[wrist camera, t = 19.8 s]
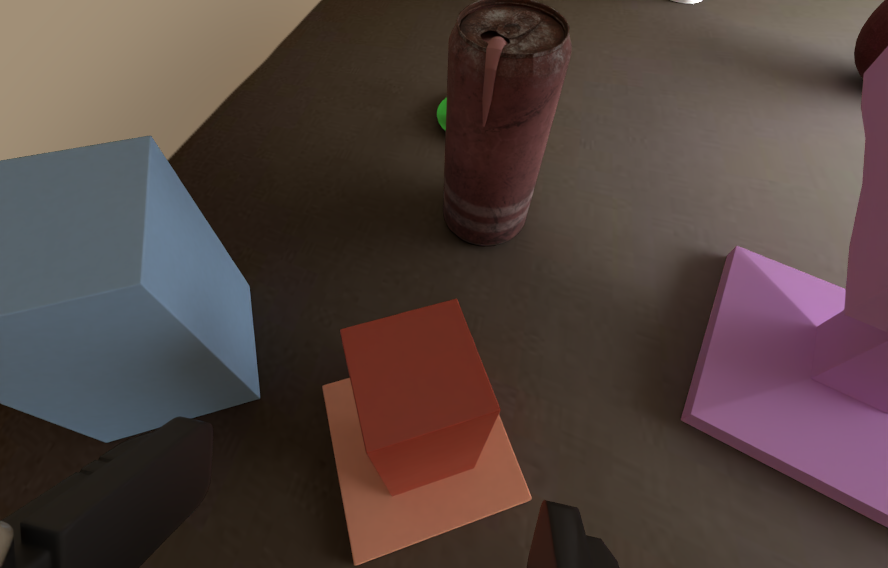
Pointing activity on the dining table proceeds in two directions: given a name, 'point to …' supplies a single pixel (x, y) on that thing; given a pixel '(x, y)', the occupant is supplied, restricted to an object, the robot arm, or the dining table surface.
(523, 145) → the brown drink cup
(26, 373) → the blue stand
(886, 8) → the decorative ball
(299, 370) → the dining table surface
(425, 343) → the red post
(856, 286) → the vase
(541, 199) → the dining table surface
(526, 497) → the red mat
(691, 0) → the white ridged cylinder
